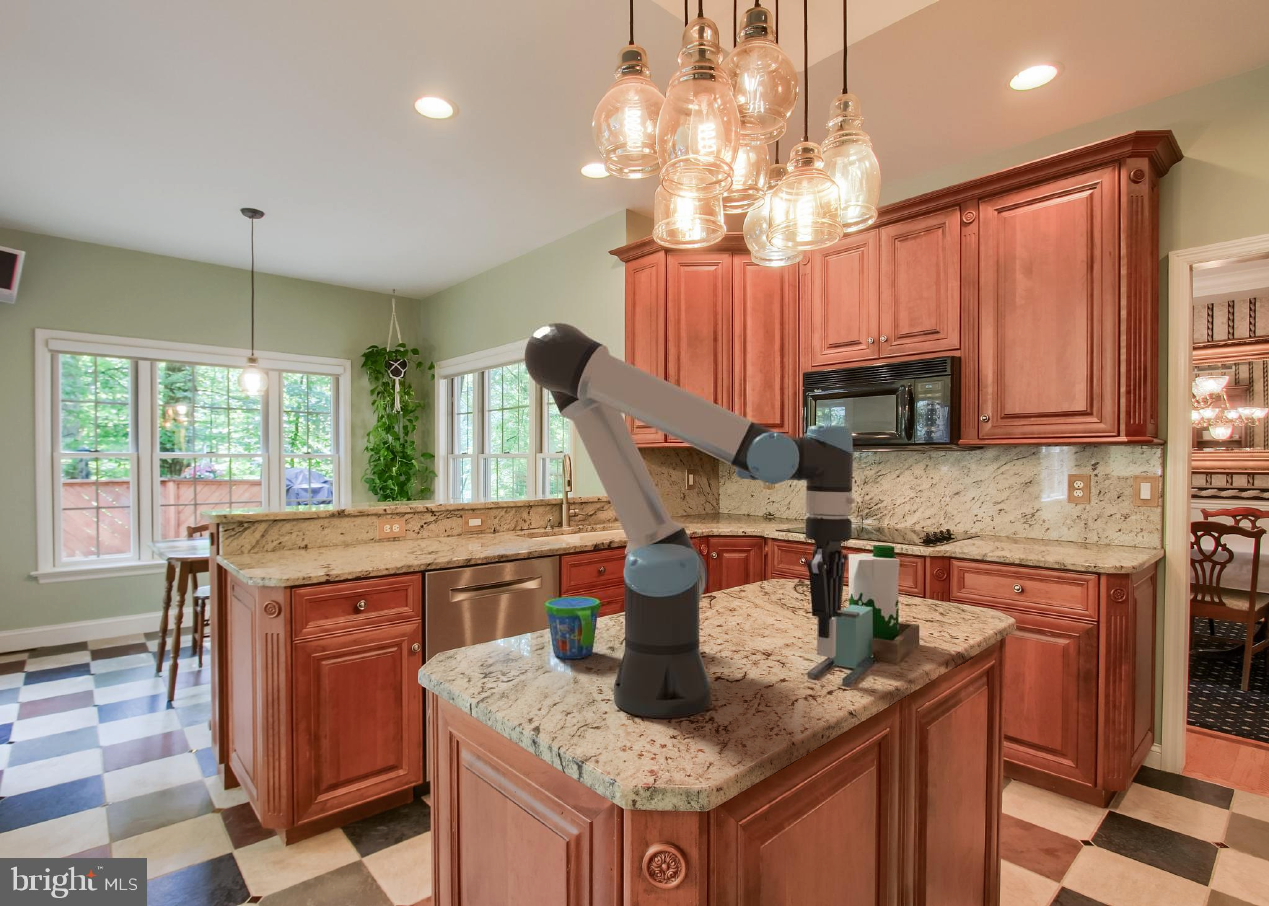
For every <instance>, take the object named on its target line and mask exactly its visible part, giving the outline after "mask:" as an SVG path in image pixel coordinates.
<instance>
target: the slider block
mask: <svg viewBox="0 0 1269 906" xmlns="http://www.w3.org/2000/svg"><path fill="white" fill-rule="evenodd" d="M838 612H840V613H842V616H841V617H837V616H835V617H836V656H835V657H834V665H833V666H838V667H844V668H849V669H852V670H854V669H855V668H856V667H857V666H859V665H860V664H861V663H862V662H863V661H865V660H866V659H867V658H868V657H869V656H870V657H873V608H872V607H865V606H857V605H850V606H849V605H848V606H846V607H845V608H843V609H841V610H840V611H839V610H838Z"/></svg>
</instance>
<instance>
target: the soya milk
mask: <svg viewBox="0 0 1269 906" xmlns="http://www.w3.org/2000/svg"><path fill="white" fill-rule="evenodd" d="M895 550H896V549H895V546H894V545H889V544H888V545H887V544H875V545H873V546H872V553H865V552H862V553H858V554H857V553H848V606H850V605H857V606H865V607H872V608H873V639H874V638H878V639H884V640H890V641H893V640H894V639H895V638H897V637H898V635H899V622H900V619H899V617H900V615H899V576H900V575H899V574H900V563H901V560H900V559H899V558H897V556H895Z"/></svg>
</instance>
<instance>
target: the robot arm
mask: <svg viewBox="0 0 1269 906" xmlns="http://www.w3.org/2000/svg"><path fill="white" fill-rule="evenodd" d="M524 364H525V368H526V370H527V373H528V374H529V376H530V377H531V379H532V380H533V381H534V382H535V383H536V385H538V386H540V387H541V388H543V389H545V390H548V391H549V392H550V395H551V397H552V399H553V400H554V403H555V405H556V408H557V409H558V411H559V414H560V416H561V417H563V418H564V419H565V418H566V419H568V420H570V421H572V422H573V424H574V426H575V429H576V431H577V433H578V435H579V437H580V440H581V442H582V444H583V445H584V448H585V450H586V453H587V454H588V456H589V459H590V461H591V463H592V465H593V467H594V470H595V472H596V474H597V476H598V478H599V480H600V483H601V484H602V487H603V489H604V491H605V493H606V495H607V498H608V499H609V502H610V504H611V506H612V508H613V511H614V513H615V515H616V517H617V519H618V521H619V524H620V526H621V528H622V530H623V532H624V535H625V536H626V538H627V545H626V548H625V551H624V554H625V561H624V568H623V579H624V653H623V656H622V659H621V660H620V661H621V662H620V665H619V668H618V672H617V674H616V678H615V681H614V684H613V685H614V687H613V702H614V704H615V705H616V706H617V708H620V709H621V710H622V711H624V712H627V713H629V714H632V715H635V716H639V717H645V718H653V719H676V718H684V717H688V716H693V715H696V714H699V713H700V712H703V711H704V710H707V708H708V707H709V706H710V705H711V703H712V685H711V682H710V681H709V676H708V673H707V670H706V668H705V664H704V660H703V657H702V654H701V651H700V600H701V597H702V596H703V594H704V591H705V588H706V585H707V580H708V572H707V565H706V562H705V559H704V558H703V556H702V555H701V553H700V552H699V551H698V550H697V549H696V548H695V547H694V545H693V543H692V540H691V539H690V537H689V535H688V533H687V530H686V528H685V527H684V525H683V524H681V523H678V522H676V521H674V520H673V519H672V518H671V517H670V513H669V512H668V509H667V508H666V506H665V503H664V502H663V501H664V500H663V499H662V497H661V494H660V493H659V490H658V489H657V486H656V484H655V482H654V480H653V477H652V476H651V473H650V472H649V470H648V468H647V467H648V466H647V465H646V463H645V460H644V459H643V457H642V454H641V452H640V451H639V448H638V446H637V444H636V442H635V440H634V437H633V436H632V433H631V432H630V428H629V427H628V425H627V422H626V421H625V419H624V417H623V414H624V415H626V416H628V417H630V418H631V419H634V420H637V422H641V423H642V424H644V425H647V426H649V427H651V428H653V429H655V430H657V431H659V432H661V433H664V434H666V435H668V436H669V437H671V438H674V439H676V440H678V441H680V442H682V443H684V444H687V445H688V446H691V447H693V448H695V449H697V450H700V451H701V452H703V453H705V454H707V455H710V456H712V457H713V458H716V459H719V460H720V461H722V462H725V463H726V464H728V465H731V466H732V467H734V468H735V469H736V472H735V473H736V476H737V478H739V479H741V480H751V481H758V480H759V481H761V482H763V483H766V484H768V485H776V484H780V483H783V482H786V481H800V482H802V481H805V483H806V486H805V513H806V514H807V515H808V516H806V518H805V532H804V533H805V538H807V539H808V540H813V541H814V548H813V551H812V560H808V559H807V562H806V567H807V571H808V574H809V576H808V577H809V586H810V600H811V616H812V617H816V618H817V619H816V620H817V624H816V625H817V627H816V628H817V631H816V632H817V633H816V635H817V637H816V655H817V656H820V657H826V658H828V657H830V658H833V657H835V656H836V617H835V616H837V617H841V616H842V613H840V612H838V610H839V611H840V610H842V601H843V592H844V591H843V590H844V581H845V570H846V564H847V559H848V555H847V554H846V553H844V551H843V550H842V547H843V546H842V542H843V543H845V542H849V541H851V540H852V533H853V531H852V530H853V529H852V525H853V521H852V519H851V518H849V516H851V515H852V514H853V511H852V510H853V509H852V506H853V504H855V502H856V499H855V498H854V497H853V472H854V471H853V469H854V468H853V466H854V454H855V452H854V447H853V431H852V430H851V428H850V427H848V426H845V425H839V424H838V425H837V424H833V425H828V424H824V425H822V424H821V425H818V424H817V425H810V426H809V427H807V430H806V434H805V436H797V437H796V436H795V437H793V436H788V435H787V434H785V433H782V432H780V431H773V430H772V429H770V428H768V427H766V426H763V425H761V424H758V423H756V422H753V421H752V420H750V419H748V418H746V417H744V416H742V415H740V414H738V413H735V412H733V411H731V410H730V409H727V408H725V407H723V406H720V405H718V404H716V403H714V402H712V401H709V400H708V399H705V398H704V397H701V396H699V395H697V394H694V393H693V392H690V391H688V390H686V389H684V388H682V387H680V386H678V385H676V384H673V383H671V382H669V381H667V380H665V379H664V378H660V377H658V376H657V375H654V374H652V373H650V372H647V371H645V370H644V369H642V368H640V367H637V366H635V365H632V364H630V363H628V362H626V361H624V360H622V359H620V358H618V357H616V356H612V355H611V354H610V351H609V348H608V346H607V345H604V344H603V343H601V342H598V341H597V340H594V339H592V338H591V337H589V336H587V335H586V334H585V333H583V332H582V331H581V330H580V329H578V328H577V327H575V326H573V325H571V324H567V323H563V322H554V323H553V322H552V323H548V324H546V325H544V326H541V327H540V328H538V329H537V330H536V331H535V332H534V333H533V334H532V335H531V336H530V337H529V339H528V342H527V343H526V346H525V350H524Z"/></svg>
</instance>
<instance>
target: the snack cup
mask: <svg viewBox="0 0 1269 906" xmlns="http://www.w3.org/2000/svg"><path fill="white" fill-rule="evenodd" d="M601 605H602V604H601V602H600V600H599V599H598V598H594V597H589V596H563V597H556V598H552V599H549V600H547V601H546V602H545V604H544V610H545V612H546V614H547V618H548V626H549V627H548V628H549V633H550V639H551V646H552V650H553V654H554V655H555V656H556V657H557V658H558V657H559V658H560V659H564V660H565V659H566V660H567V659H569V660H571V659H572V660H573V659H574V660H575V659H583V658H586V657H589V656H590V655H591V654H593V652H594V651H593V650H594V643H595V637H596V630H597V621H598V613H599V612H600V610H601V608H602V606H601Z"/></svg>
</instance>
